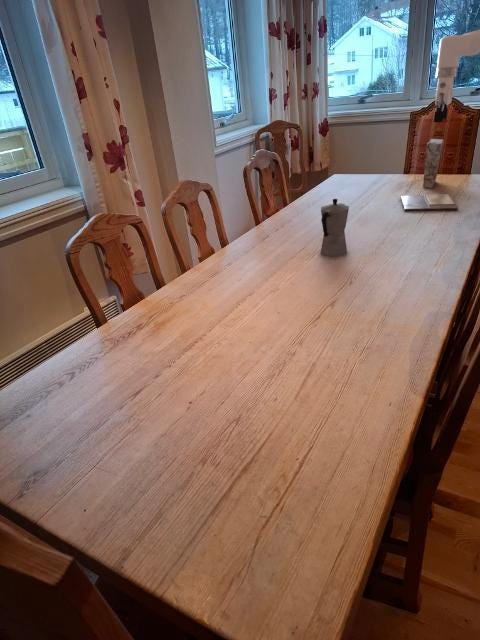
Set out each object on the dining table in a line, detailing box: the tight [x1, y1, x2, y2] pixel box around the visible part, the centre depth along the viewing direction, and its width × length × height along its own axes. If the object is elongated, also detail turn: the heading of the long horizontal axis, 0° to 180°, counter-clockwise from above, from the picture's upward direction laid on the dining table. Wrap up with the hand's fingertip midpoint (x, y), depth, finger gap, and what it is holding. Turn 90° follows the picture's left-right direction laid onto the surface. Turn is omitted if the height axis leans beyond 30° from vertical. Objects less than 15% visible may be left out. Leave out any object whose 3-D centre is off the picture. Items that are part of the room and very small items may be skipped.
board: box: [400, 193, 459, 212], centre depth 182 cm, size 20×20×1 cm
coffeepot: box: [320, 198, 350, 257], centre depth 141 cm, size 15×9×18 cm, turn 145°
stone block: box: [422, 138, 444, 189], centre depth 203 cm, size 13×7×20 cm, turn 158°
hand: (440, 120), depth 177 cm, fingers open, 9 cm apart
